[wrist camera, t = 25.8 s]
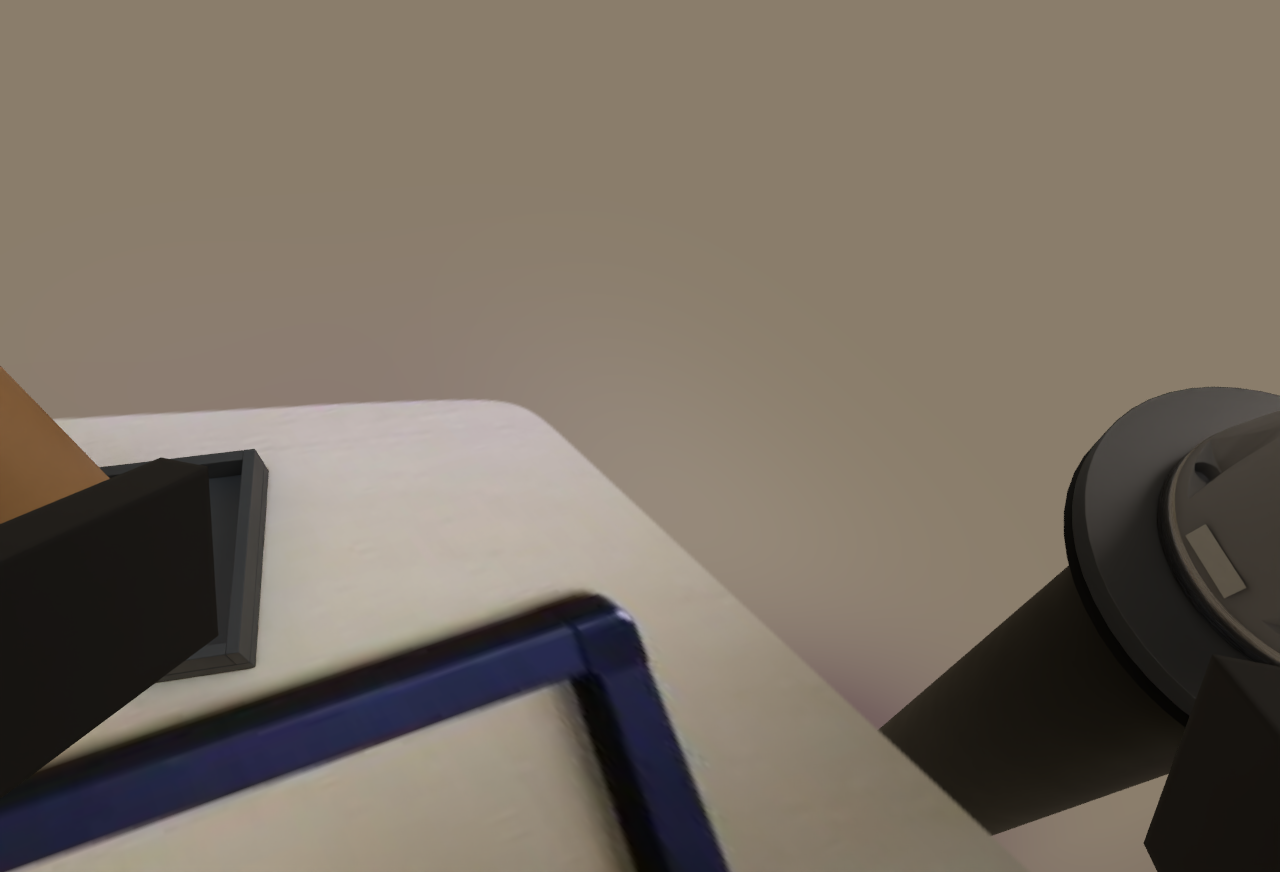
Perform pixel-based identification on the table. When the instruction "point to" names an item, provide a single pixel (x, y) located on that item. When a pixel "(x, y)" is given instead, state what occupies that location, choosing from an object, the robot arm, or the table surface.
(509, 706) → the table surface
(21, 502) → the paper roll
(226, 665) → the tray
